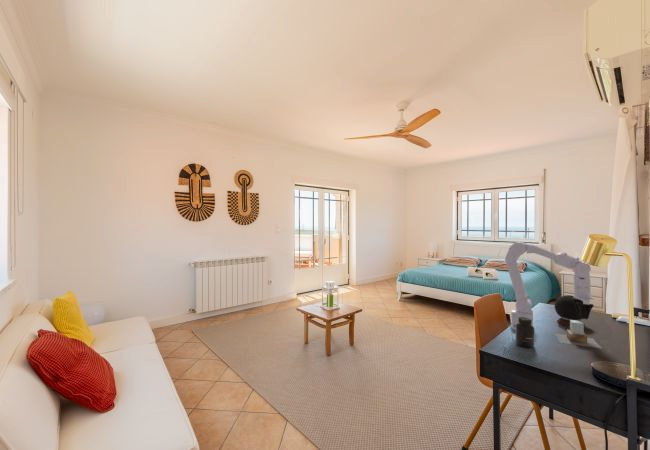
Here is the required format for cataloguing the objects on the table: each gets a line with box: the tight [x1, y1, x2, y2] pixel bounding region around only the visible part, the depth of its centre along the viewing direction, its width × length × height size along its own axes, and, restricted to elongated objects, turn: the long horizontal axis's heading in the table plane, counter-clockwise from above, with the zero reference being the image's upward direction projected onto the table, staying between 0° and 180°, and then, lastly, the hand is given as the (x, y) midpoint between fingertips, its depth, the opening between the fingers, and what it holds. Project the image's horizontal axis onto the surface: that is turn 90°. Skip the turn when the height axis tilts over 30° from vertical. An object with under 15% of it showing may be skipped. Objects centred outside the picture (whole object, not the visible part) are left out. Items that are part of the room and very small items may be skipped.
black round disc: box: [554, 294, 586, 328], centre depth 156 cm, size 13×13×15 cm
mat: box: [555, 333, 602, 349], centre depth 134 cm, size 14×12×1 cm
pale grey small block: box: [569, 320, 585, 335], centre depth 134 cm, size 4×4×5 cm
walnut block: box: [566, 329, 588, 344], centre depth 134 cm, size 6×6×4 cm
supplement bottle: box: [515, 317, 535, 349], centre depth 130 cm, size 7×7×12 cm
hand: (582, 316), depth 136 cm, fingers open, 7 cm apart
